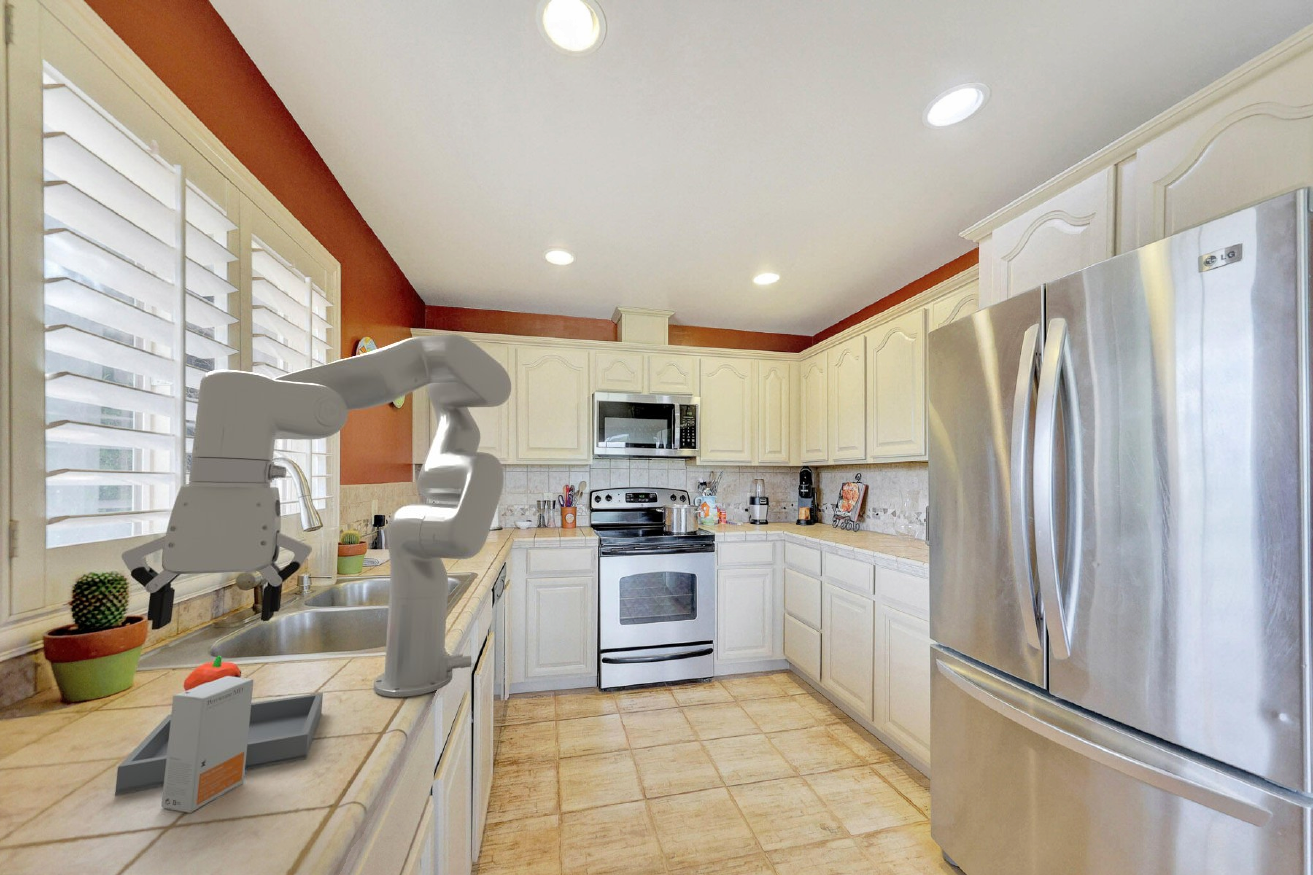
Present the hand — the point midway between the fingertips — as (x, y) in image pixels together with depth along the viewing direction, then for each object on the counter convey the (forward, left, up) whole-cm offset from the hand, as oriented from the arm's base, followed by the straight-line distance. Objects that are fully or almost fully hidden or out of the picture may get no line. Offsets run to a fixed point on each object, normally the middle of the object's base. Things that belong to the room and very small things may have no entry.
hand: (216, 622), depth 59 cm
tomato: (+8, -33, -20) cm, 39 cm away
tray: (0, -11, -19) cm, 22 cm away
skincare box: (0, 0, -20) cm, 20 cm away
